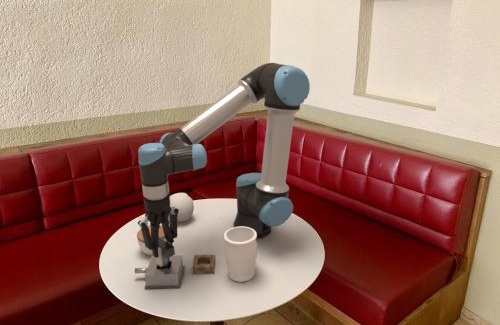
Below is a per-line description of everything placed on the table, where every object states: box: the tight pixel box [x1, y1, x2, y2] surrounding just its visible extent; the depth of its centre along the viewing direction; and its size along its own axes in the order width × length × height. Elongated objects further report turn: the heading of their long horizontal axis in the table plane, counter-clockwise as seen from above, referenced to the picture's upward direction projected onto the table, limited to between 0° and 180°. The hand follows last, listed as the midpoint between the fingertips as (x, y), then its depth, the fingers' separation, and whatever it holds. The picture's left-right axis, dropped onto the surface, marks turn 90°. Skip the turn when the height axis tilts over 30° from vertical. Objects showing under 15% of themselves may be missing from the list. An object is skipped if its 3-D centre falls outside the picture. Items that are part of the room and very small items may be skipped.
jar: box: [223, 226, 258, 283], centre depth 121 cm, size 11×10×15 cm
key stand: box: [191, 254, 216, 275], centre depth 127 cm, size 7×7×2 cm
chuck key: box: [158, 237, 176, 269], centre depth 120 cm, size 9×3×12 cm, turn 46°
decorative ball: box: [168, 192, 195, 223], centre depth 156 cm, size 12×12×12 cm
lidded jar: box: [136, 224, 166, 257], centre depth 135 cm, size 11×11×9 cm
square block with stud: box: [134, 254, 186, 290], centre depth 121 cm, size 15×11×5 cm
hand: (164, 261), depth 120 cm, fingers closed on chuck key, 3 cm apart
